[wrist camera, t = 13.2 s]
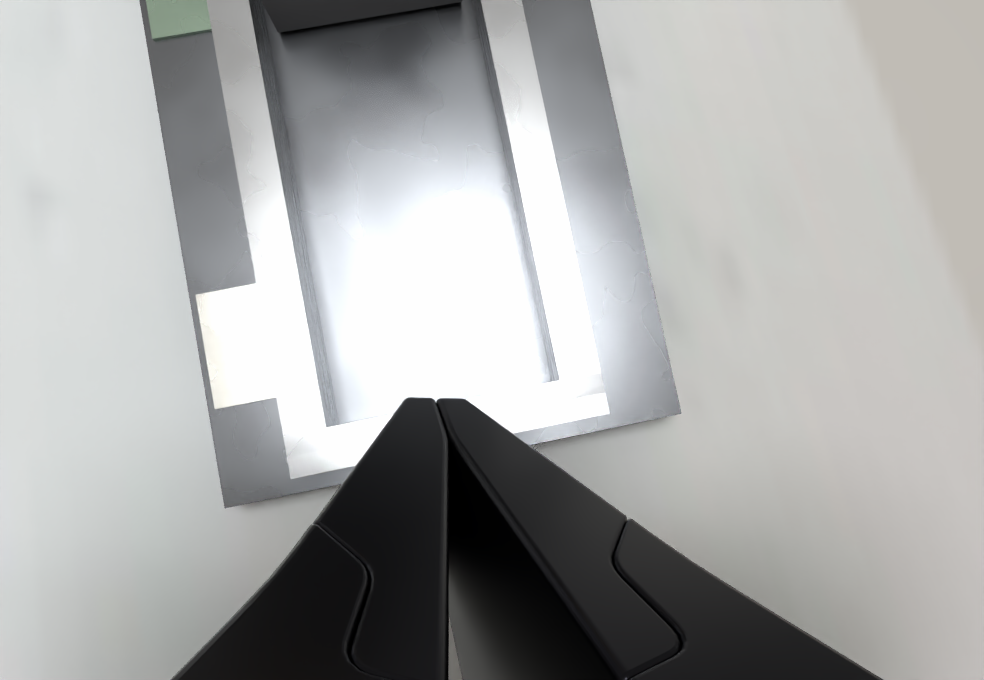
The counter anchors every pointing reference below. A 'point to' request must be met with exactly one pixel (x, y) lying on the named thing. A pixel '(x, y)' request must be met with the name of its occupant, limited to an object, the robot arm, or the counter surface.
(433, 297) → the grey shallow rectangular piece
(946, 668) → the counter surface
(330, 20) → the breaker handle
